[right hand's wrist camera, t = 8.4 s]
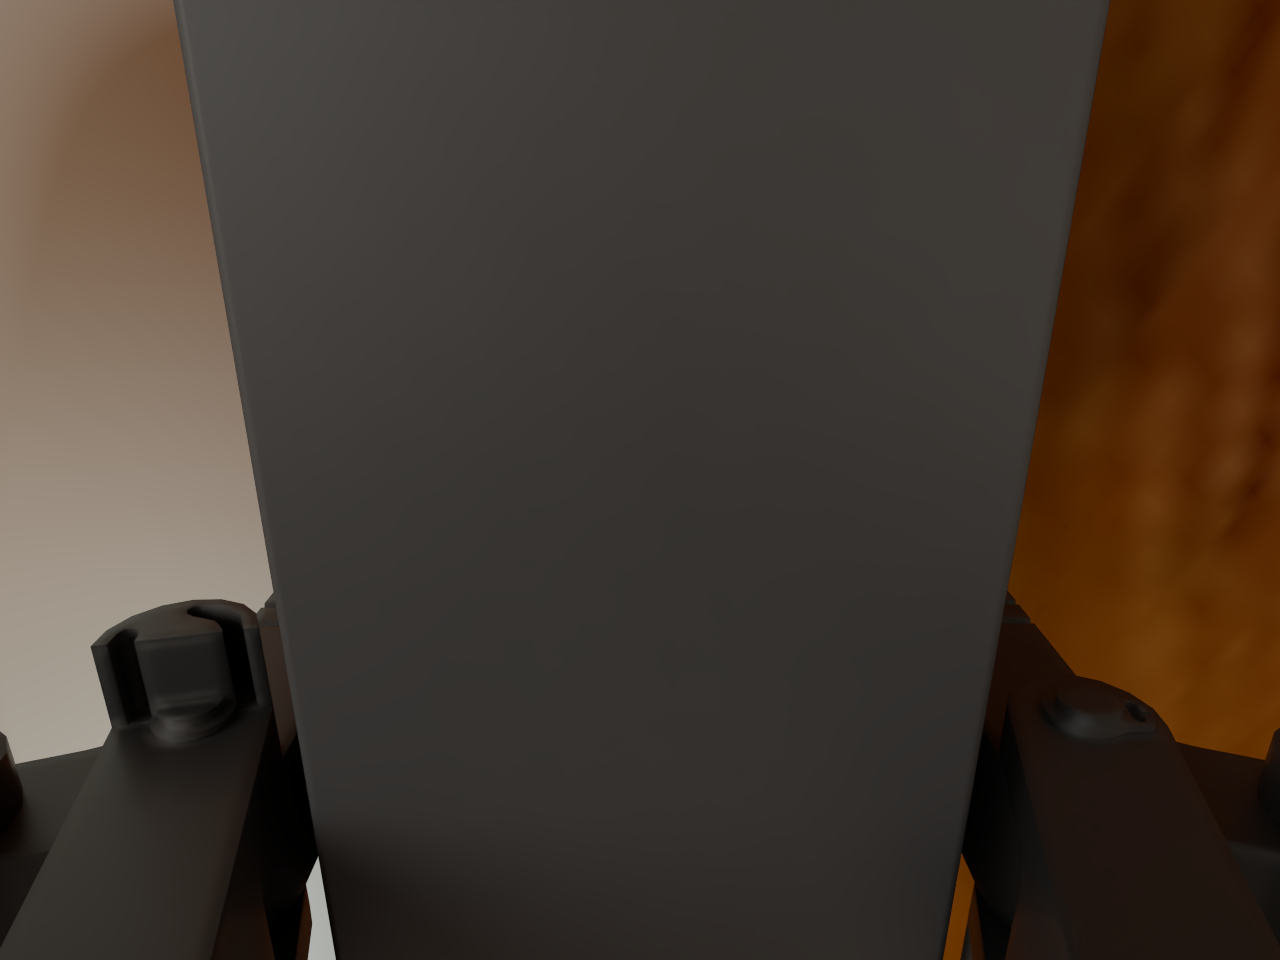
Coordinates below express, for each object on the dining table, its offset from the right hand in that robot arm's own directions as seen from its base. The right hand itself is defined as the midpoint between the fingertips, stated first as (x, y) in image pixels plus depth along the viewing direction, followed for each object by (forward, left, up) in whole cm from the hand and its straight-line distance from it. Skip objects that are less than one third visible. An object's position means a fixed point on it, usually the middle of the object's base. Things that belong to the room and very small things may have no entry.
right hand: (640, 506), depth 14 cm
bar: (+6, +4, -1) cm, 7 cm away
